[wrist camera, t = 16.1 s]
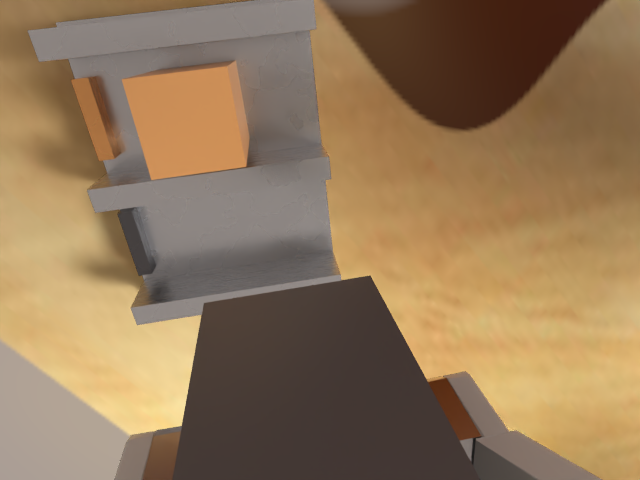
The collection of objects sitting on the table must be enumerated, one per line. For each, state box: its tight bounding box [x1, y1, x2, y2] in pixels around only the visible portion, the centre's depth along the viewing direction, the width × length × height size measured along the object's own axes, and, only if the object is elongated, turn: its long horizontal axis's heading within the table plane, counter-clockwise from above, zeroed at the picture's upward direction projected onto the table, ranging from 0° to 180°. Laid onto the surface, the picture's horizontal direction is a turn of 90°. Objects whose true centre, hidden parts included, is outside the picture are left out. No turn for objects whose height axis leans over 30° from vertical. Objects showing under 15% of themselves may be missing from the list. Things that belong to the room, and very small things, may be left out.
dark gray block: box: [172, 276, 480, 480], centre depth 8 cm, size 4×4×6 cm
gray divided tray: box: [28, 0, 341, 325], centre depth 23 cm, size 12×16×4 cm
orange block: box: [122, 60, 250, 180], centre depth 20 cm, size 4×4×6 cm
